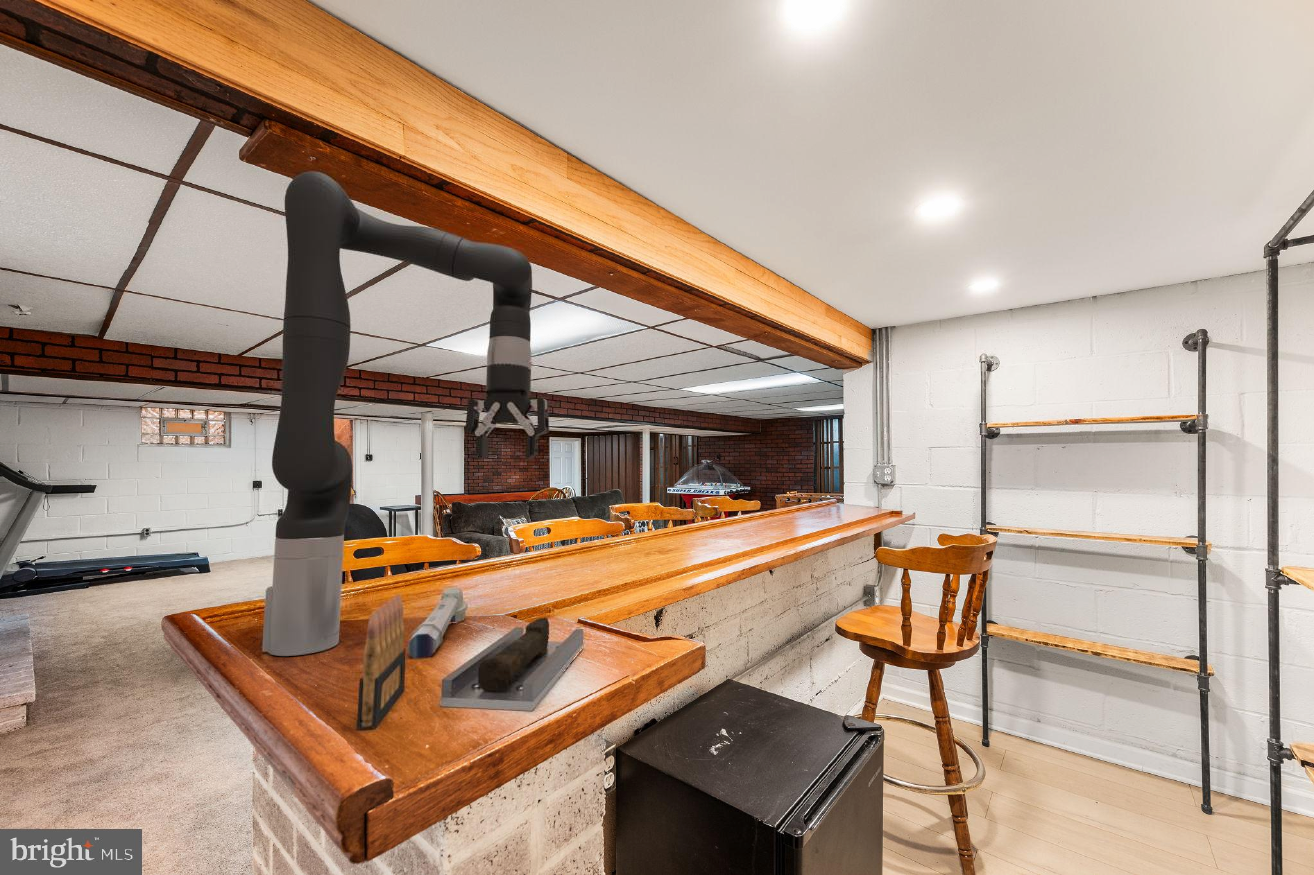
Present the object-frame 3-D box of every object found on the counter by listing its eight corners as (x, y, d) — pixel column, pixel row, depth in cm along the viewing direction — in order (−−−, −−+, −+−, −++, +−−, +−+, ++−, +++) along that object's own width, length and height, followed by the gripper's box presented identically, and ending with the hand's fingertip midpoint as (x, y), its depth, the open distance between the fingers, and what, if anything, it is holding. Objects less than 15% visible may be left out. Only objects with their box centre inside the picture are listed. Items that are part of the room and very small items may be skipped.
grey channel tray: (440, 706, 62) (441, 679, 62) (515, 646, 85) (515, 627, 85) (532, 711, 61) (533, 683, 61) (583, 649, 83) (583, 629, 84)
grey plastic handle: (402, 633, 78) (441, 580, 103) (402, 678, 79) (441, 614, 103) (440, 632, 79) (469, 579, 104) (439, 676, 80) (469, 613, 104)
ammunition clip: (388, 691, 66) (392, 592, 67) (404, 690, 67) (408, 592, 68) (356, 730, 56) (361, 612, 57) (375, 729, 56) (380, 612, 57)
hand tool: (507, 694, 63) (508, 653, 63) (475, 692, 64) (477, 651, 64) (564, 647, 81) (565, 615, 82) (539, 645, 82) (540, 614, 82)
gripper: (460, 362, 91) (456, 457, 90) (541, 360, 90) (538, 457, 88) (480, 371, 99) (477, 459, 97) (555, 370, 97) (553, 459, 96)
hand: (506, 458), depth 93 cm, fingers open, 8 cm apart
